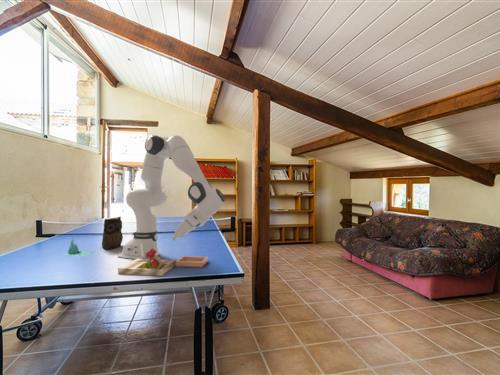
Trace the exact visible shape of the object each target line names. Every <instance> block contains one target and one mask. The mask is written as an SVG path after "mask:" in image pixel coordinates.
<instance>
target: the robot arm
mask: <svg viewBox="0 0 500 375" xmlns="http://www.w3.org/2000/svg"><path fill="white" fill-rule="evenodd" d="M144 148H145V151H146V152H145V156H144V160H143V162H142V164H143V165H142V168H141V169H142V170H141V175H140V178H141V180H142V181H143V182H144V185H145V186H144V187H145V188H138V189H137V188H136V189H133V190H130V191H128V193H127V194H126V198H125V202H126V204H127V205H128V207H129V208H131V210H132V211H133V213H134V216H135V219H136V220H135V221H136V231H135V232H133V233H132V236H133V237H132V238H131V239H130V240H129V241H127V242H126V243H125V244H124V245H123V247H122V252H120V253H119V254H117V255H118V256H117V257H118V258H124V259H131V260H135V259H149V257H146V254H145V253H148V252H149V251H150V250H151V249H152V248H153V249H154V250H156V251H157V252H156V254H155V256H158V257H159V255H160V252H159V248H158V247H159V246H158V230H157V226H158V222H157V221H158V219H157V216H155V215H154V214H153V212H152V208H157V207H160V206H162V205H164V204H165V202H166V199H167V196H166V192H164V190H163V188H162V174H163V171H164V166H165V165H164V164H165V160H166V159H169V160H171V161H172V163H173V164H174V166H175V167H176V168H177V169H178V170H180V171H181V172H183V173H184V174H185V175H187V176H188V177H190V179H192V181H193V183H192V184H190V186H189V188H188V190H187V196H188V198H189V199H190V200H191V201H192V202H193V203H195V206H194V207H193V208H192V209H191V210H190V212H188V213H187V214H186V215H185V216H184V219H183V220H182V221H181V222H180V224H178V226H177V227H176V228H175V229H174V235H173V237H171V240H172V241H173V242H176V241H177V240H178V239H179V238H180V237H181V238H183V237H184V236H185V235H187V234H188V233H190V232H192V231H194V230H195V229H196V228H199V227H200V228H202V227H203V226H204V225H205V224H206V223H207V222H208V221H209V220H210V219H211V217H212V216H214V215H215V214H216V213H217V212H218V211H219V210H220V209H221V208H222V207H223V205H224V203H225V202H226V199H225V195H224V194H223V193H222V191H221V190H219V189H218V188H213V187H212V186H211V184H210V183H209V181H208V179H207V177H206V176H205V174H204V172H203V171H202V169H201V168H200V165H199V164H198V162H197V159H196V158H195V156H194V153H193V152H192V149H191V147H190V146H189V144H188V143H187V141H186V140H185V139H184V138H183V137H182V136H181V135H172V136H170V137H168V136H167V137H165V136H158V135H153V134H152V135H149V136H148V137H147V138H146V139H145V142H144Z"/></svg>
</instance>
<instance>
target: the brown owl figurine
mask: <svg viewBox="0 0 500 375" xmlns="http://www.w3.org/2000/svg"><path fill="white" fill-rule="evenodd" d="M103 222H104V223H103V232H102V240H101V248H103V249H104V251H105V250H106V251H109V250H110V251H111V250H115V249H118V248H121V246H122V242H123V238H124V236H123V232H122V228H123V222H122V219H121V216H118V217H110V218H105V219H104V221H103Z"/></svg>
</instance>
